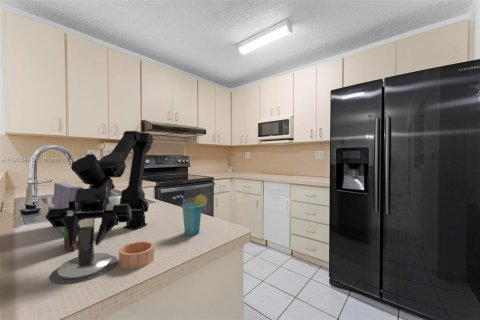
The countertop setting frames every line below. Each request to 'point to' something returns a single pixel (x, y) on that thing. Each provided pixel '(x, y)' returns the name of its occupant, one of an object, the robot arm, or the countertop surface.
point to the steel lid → (85, 258)
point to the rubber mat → (57, 280)
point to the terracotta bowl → (136, 254)
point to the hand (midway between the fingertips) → (83, 246)
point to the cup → (192, 214)
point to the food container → (65, 234)
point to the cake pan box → (65, 197)
